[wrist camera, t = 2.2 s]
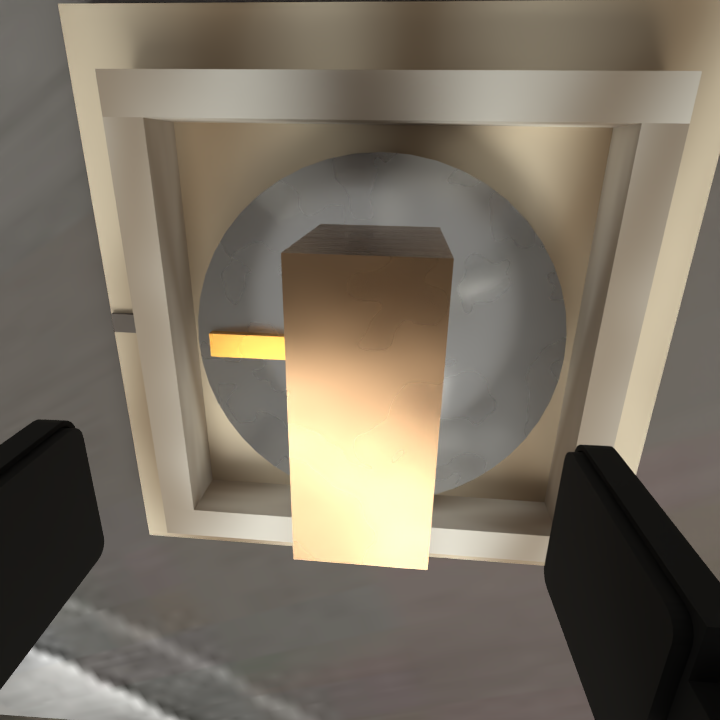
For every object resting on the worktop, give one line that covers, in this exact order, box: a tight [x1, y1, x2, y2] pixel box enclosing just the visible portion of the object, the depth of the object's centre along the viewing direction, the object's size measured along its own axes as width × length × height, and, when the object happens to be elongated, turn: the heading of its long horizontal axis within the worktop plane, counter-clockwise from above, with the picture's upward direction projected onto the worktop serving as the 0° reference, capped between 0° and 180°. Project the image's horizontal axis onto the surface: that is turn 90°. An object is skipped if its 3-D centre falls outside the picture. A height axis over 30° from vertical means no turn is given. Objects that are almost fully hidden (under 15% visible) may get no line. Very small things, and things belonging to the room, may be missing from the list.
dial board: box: [58, 0, 720, 566], centre depth 18 cm, size 20×20×4 cm
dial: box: [198, 152, 567, 570], centre depth 15 cm, size 12×12×7 cm
